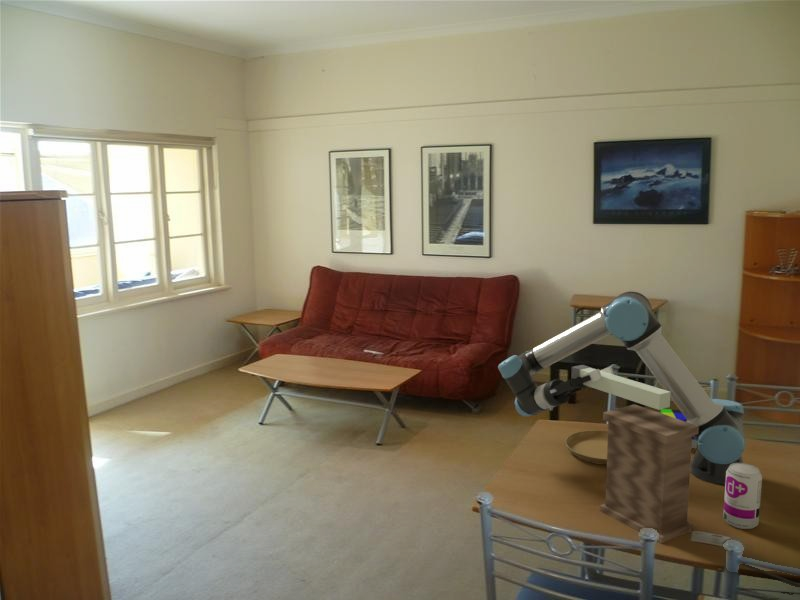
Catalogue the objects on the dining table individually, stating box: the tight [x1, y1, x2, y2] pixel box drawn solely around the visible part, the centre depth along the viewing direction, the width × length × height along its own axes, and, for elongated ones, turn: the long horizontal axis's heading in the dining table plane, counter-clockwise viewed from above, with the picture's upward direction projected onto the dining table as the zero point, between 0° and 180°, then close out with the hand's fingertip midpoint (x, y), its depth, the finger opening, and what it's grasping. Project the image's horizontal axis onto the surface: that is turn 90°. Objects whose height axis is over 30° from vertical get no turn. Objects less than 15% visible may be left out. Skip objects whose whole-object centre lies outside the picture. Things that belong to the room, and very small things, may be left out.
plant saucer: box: [565, 429, 608, 466], centre depth 221 cm, size 24×24×3 cm
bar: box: [570, 364, 671, 411], centre depth 180 cm, size 30×4×4 cm, turn 31°
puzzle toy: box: [660, 408, 698, 448], centre depth 227 cm, size 10×10×10 cm
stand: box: [599, 404, 699, 544], centre depth 174 cm, size 20×12×28 cm, turn 30°
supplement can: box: [722, 462, 763, 530], centre depth 173 cm, size 8×8×15 cm
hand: (605, 372), depth 183 cm, fingers closed on bar, 4 cm apart
